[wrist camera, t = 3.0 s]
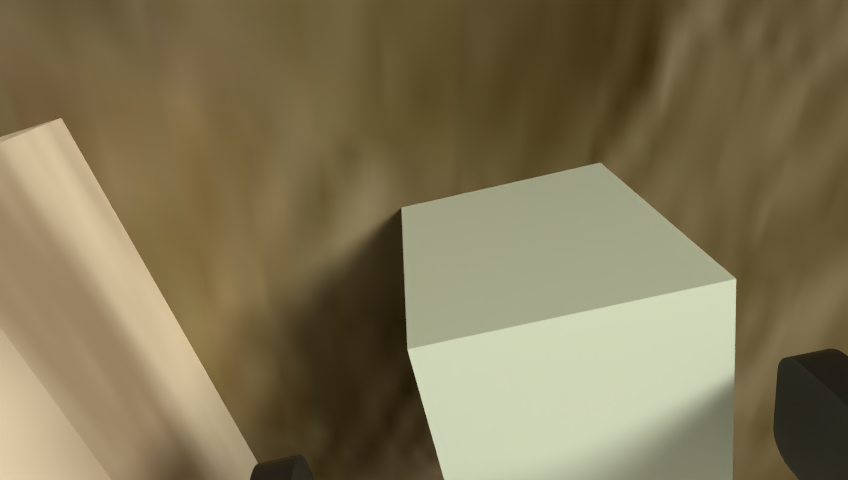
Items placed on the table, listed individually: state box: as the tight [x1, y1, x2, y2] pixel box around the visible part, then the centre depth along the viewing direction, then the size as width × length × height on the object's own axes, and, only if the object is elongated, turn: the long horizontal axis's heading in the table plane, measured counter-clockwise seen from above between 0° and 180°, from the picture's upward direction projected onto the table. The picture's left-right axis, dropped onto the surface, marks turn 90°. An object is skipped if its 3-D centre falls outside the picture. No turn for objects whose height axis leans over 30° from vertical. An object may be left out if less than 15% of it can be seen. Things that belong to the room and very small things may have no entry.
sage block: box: [401, 163, 736, 480], centre depth 12 cm, size 5×5×6 cm
